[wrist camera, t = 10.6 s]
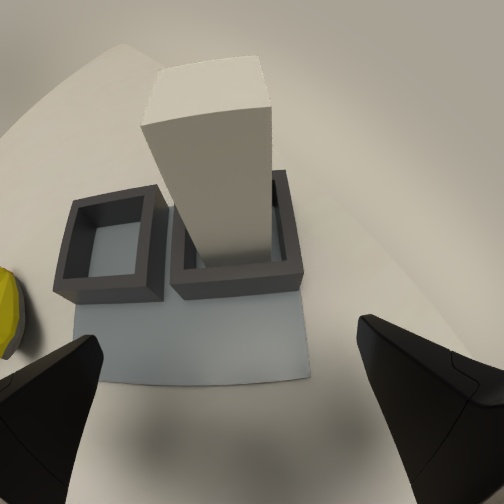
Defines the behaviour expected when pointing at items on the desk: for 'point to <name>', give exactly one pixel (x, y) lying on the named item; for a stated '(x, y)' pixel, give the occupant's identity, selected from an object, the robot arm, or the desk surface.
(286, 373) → the board
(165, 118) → the plug
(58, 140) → the desk surface
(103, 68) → the desk surface
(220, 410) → the desk surface
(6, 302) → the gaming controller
